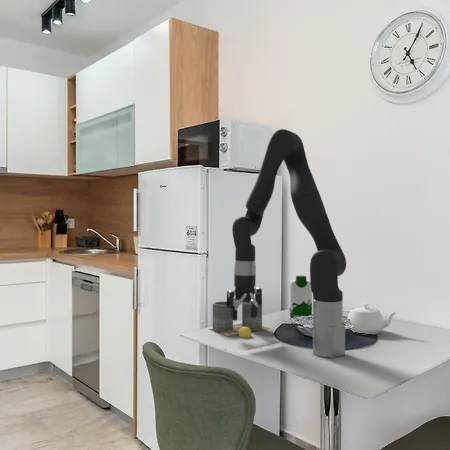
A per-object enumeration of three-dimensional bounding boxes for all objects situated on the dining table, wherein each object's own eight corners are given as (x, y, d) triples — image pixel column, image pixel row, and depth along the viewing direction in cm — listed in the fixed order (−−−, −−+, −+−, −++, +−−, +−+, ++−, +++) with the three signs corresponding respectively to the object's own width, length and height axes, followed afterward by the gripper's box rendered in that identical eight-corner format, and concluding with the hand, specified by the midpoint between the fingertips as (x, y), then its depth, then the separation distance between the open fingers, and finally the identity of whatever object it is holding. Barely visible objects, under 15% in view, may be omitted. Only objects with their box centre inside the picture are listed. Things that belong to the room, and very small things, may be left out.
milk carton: (289, 328, 184) (290, 276, 184) (289, 322, 193) (289, 273, 193) (312, 328, 183) (313, 277, 183) (310, 323, 192) (311, 274, 192)
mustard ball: (254, 340, 167) (254, 327, 167) (243, 342, 164) (243, 328, 164) (246, 337, 171) (246, 324, 170) (235, 339, 168) (235, 326, 168)
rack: (271, 331, 179) (271, 302, 178) (228, 340, 167) (228, 308, 167) (249, 325, 189) (249, 297, 189) (208, 332, 177) (208, 302, 177)
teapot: (333, 332, 178) (333, 303, 178) (343, 325, 190) (343, 298, 189) (393, 340, 167) (394, 309, 166) (401, 331, 178) (401, 303, 178)
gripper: (235, 275, 160) (234, 323, 160) (267, 273, 168) (266, 318, 169) (222, 273, 166) (221, 319, 166) (253, 270, 174) (253, 314, 175)
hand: (244, 318), depth 168 cm, fingers open, 8 cm apart
